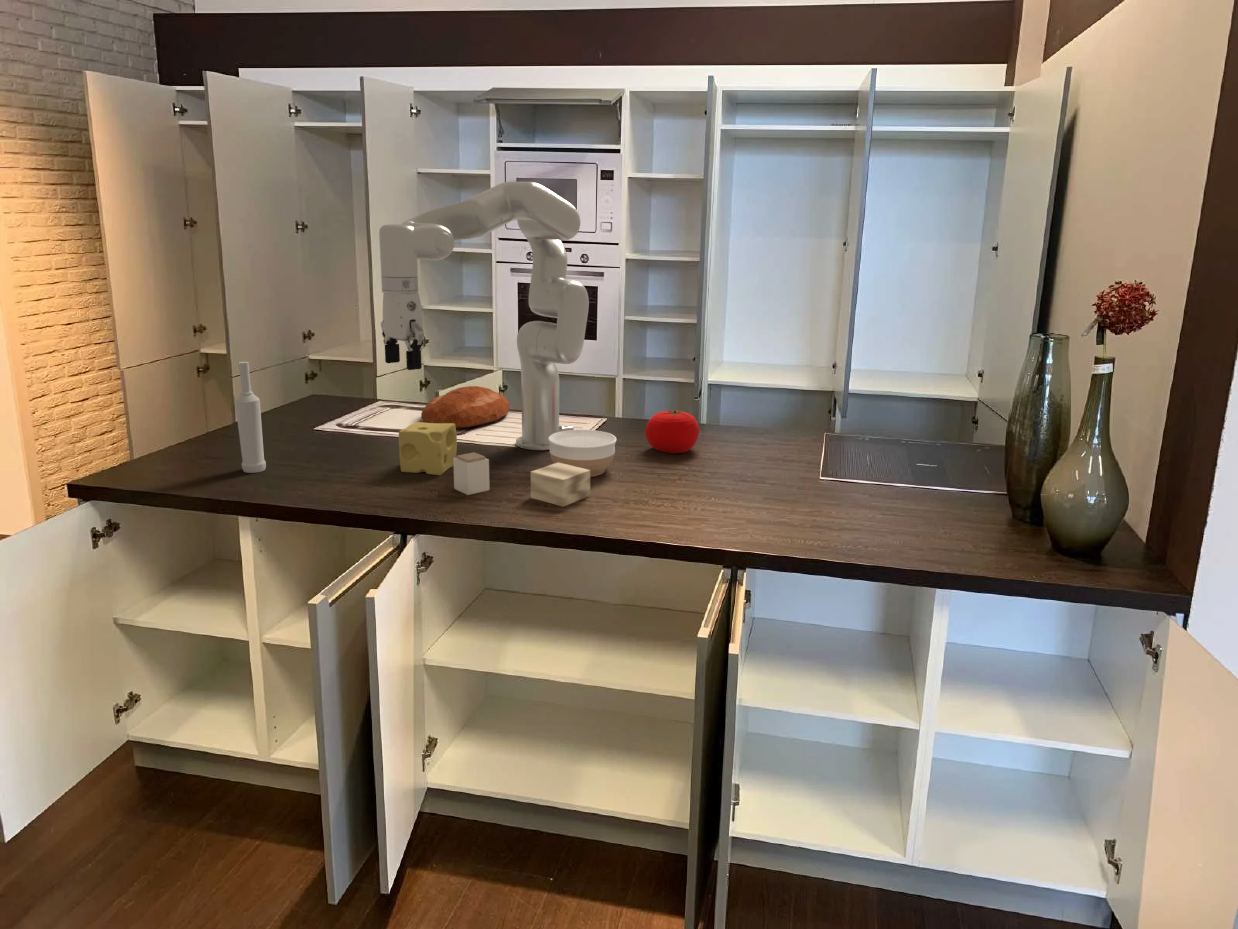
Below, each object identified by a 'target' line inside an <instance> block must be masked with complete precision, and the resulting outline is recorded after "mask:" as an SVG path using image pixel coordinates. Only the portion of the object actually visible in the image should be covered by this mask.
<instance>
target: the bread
mask: <svg viewBox="0 0 1238 929" xmlns="http://www.w3.org/2000/svg"><path fill="white" fill-rule="evenodd" d="M510 406H511V405H510V402H509V400H508V399H507V398H506V397H505V396H504V394H502V393H499V392H497V391H494V390H492V389H490V388H488V387H482V386H479V385H477V386H476V385H473V386H472V385H469V386H468V385H467V386H461V387H457V388H455V389H452V390H450V391H448V392H447V393H444V394H441V395H439V396H436V397H434V398H433V399H431V400H430V401H429V402H428V403H427V404H426V405H425V406H424V407H423V409H422V411H421V416H420V418H421V420H422V422H423V423H454V424H455V427H456V428H459V429H466V428H473V427H476V426H481V425H485V424H486V425H487V424H489V423H490V424H491V423H494V422H496V421H498V420H500V419H501V418H503V417H505V416H506V415H507V414H509V412H510Z"/></svg>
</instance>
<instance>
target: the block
mask: <svg viewBox="0 0 1238 929" xmlns="http://www.w3.org/2000/svg"><path fill="white" fill-rule="evenodd" d="M590 496H591V477H590V470H588V469H584V468H579V467H575V466H571V465H567V464H563V463H559V462H558V463H555V464H554V463H552V464H549V465H546V466H543V467H540V468H537V469H535V470H531V471H530V498H531V499H534V500H538V501H541V502H545V503H549V504H553V505H556V506H560V507H566V506H568V505H571V504H573V503H576V502H578V501H581V500H583V499H586V498H589V497H590Z"/></svg>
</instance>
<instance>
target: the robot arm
mask: <svg viewBox="0 0 1238 929" xmlns="http://www.w3.org/2000/svg"><path fill="white" fill-rule="evenodd" d="M514 221H517V225H518V228H519V230H520V231H521V233H522V234H523V235H524V237H525V239H526V240H527V241H528V245H529V246H530V249H531V252H532V269H531V270H532V271H531V276H530V277H531V278H530V283H529V291H528V307H529V308H530V311H531V312H532V313H534V314H536V315H538V316H541V317H548V318H555V319H557V320H556V323H554V322H550V321H548V322H547V321H544V320H543V321H542V320H533V321H528V322H526V323H524V324H522V326H520V328H519V330H518V333H517V334H516V335H517V336H516V347H517V351H518V357H519V362H520V374H521V375H520V376H521V377H520V379H521V386H520V387H521V435H520V436H519V437H517V439H516V440H515V444H516V446H517V447H519V448H521V449H525V450H529V451H530V450H531V451H550V443H549V441H548V438H549V436H550V435H552V434H554V433H557V432H561V431H567V430H575V428H574V426H573V425H566V426H563V425H560V375H559V371H558V367H557V365H556V364H562V365H571V364H573V363H575V362H577V360H579V358H580V357H581V356H580V355H581V354H582V351H583V348H584V343H585V336H586V329H587V322H588V314H589V305H590V299H589V295H588V294H589V293H588V291H587V288H586V287H585V285H583V284H582V283H581V282H580V281H577V280H574V279H567V271H568V255H567V251H566V248H565V246H564V244H563V241H569V240H571V239H573V238H574V237H576V235H578V233H579V231H580V227H581V217H580V214H579V211H578V210H577V208H576V207H575V206H574V205H573V204H572V203H571V202H569V201H568V200H566V199H565V198H563V197H562V196H560V195H558V194H557V193H555V192H554V191H552V190H551V189H549V188H547V187H546V186H545V185H542V184H540V183H538V182H536V181H514V180H513V181H512V180H511V181H504V182H501V183H499V184H497V185H495V186H492V187H490V188H488V189H486V190H484V191H482V192H480V193H478V194H476V195H473V196H471V197H469V198H466V199H464V200H462V201H457V202H454V203H451V204H448V205H445V206H441V207H438V208H435V209H431V210H429V211H425V212H423V213H420V214H418V215H415V216H414V217H411V218H409V219H407V220H405V221H404V222H402V223H400V224H397V223H396V224H393V223H391V224H389V223H387V224H383V225H381V227H380V229H379V234H378V236H379V237H378V238H379V239H378V240H379V256H380V257H379V259H380V275H381V276H380V278H381V282H380V283H381V293H383V295H382V296H383V297H382V321H381V322H380V326H381V331H382V333H381V334H382V337H383V341H382V342H383V345H384V360H385V363H386V364H394V363H400V361H401V358H400V357H401V356H400V354H401V352H400V343H398V342H399V341H402V342H404V343H405V345H406V349H407V350H406V351H405V358H406V360H405V361H406V370H408V371H415V370H421V369H422V350H423V344H424V337H425V331H424V320H423V310H422V303H421V299H420V294H419V272H418V271H419V269H418V264H419V263H418V260H421V259H422V260H428V261H440V260H444V259H446V258H447V257H449V256H450V255H451V254H452V252H453V251H454V248H455V241H457V240H469V239H474V238H475V239H476V238H481V237H483V236H485V235H488V234H489V233H491V232H494V231H495V230H497V229H499V228H500V227H502V226H505V225H506V224H509V223H511V222H514ZM411 342H412V343H411Z"/></svg>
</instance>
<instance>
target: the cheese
mask: <svg viewBox="0 0 1238 929" xmlns="http://www.w3.org/2000/svg"><path fill="white" fill-rule="evenodd" d="M457 435H458V434H457V429H456V427H455V424H454V423H426V422H424V421H422V422H420V421H416V422H413V423H411V424H410V425H408V426H407V427H405V428H403V429H401V430H399V431H398V454H399V466H400V471H401V472H402V473H414V474H415V473H417V474H418V473H425V474H427V475H435V476H441V475H443V474H444V473H445V472H446V471H447V470H449V469H450V468H452V467H454V465H453V458H457V451H458V450H457V449H458V448H457V447H458V443H457V442H458V439H457Z"/></svg>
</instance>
